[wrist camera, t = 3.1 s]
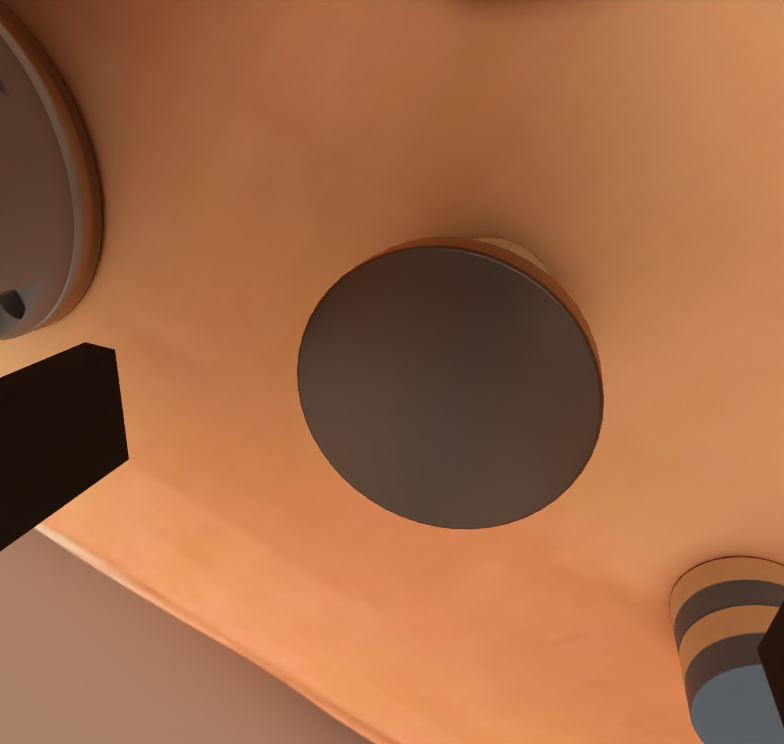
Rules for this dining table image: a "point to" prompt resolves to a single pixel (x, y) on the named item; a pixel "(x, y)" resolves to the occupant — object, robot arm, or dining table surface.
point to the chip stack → (728, 648)
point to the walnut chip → (452, 383)
